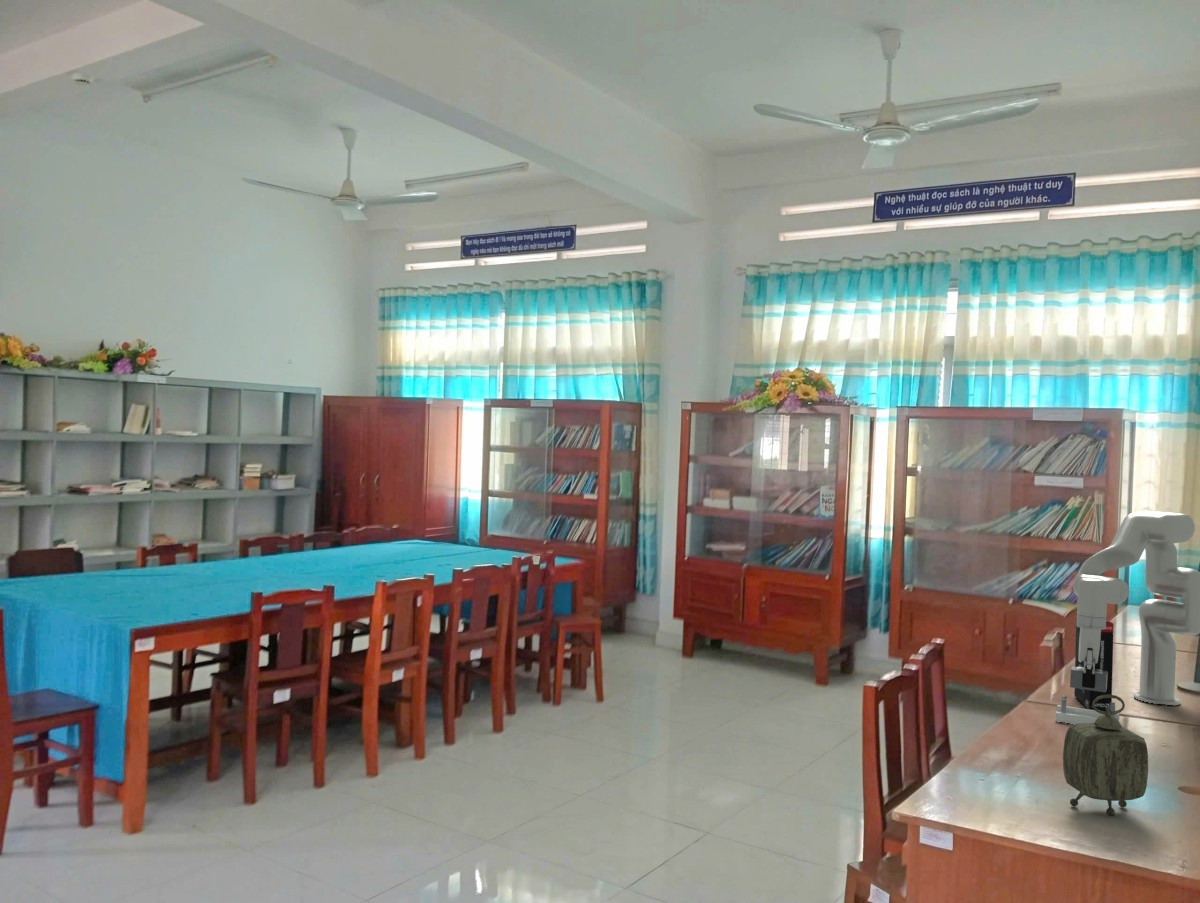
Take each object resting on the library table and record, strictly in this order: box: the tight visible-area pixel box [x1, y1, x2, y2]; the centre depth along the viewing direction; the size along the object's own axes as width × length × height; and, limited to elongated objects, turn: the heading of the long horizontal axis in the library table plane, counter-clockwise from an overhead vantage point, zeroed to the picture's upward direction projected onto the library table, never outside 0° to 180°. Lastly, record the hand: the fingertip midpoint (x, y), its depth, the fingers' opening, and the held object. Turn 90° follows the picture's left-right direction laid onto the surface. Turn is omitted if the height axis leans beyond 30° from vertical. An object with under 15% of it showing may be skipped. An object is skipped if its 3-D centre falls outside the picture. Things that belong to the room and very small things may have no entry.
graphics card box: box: [1073, 612, 1115, 711], centre depth 294 cm, size 17×7×27 cm, turn 168°
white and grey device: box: [1055, 695, 1121, 725], centre depth 275 cm, size 11×16×6 cm
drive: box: [1069, 665, 1108, 692], centre depth 274 cm, size 6×9×5 cm, turn 59°
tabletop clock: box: [1062, 694, 1149, 817], centre depth 205 cm, size 14×9×25 cm, turn 92°
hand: (1088, 684), depth 274 cm, fingers closed on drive, 5 cm apart
